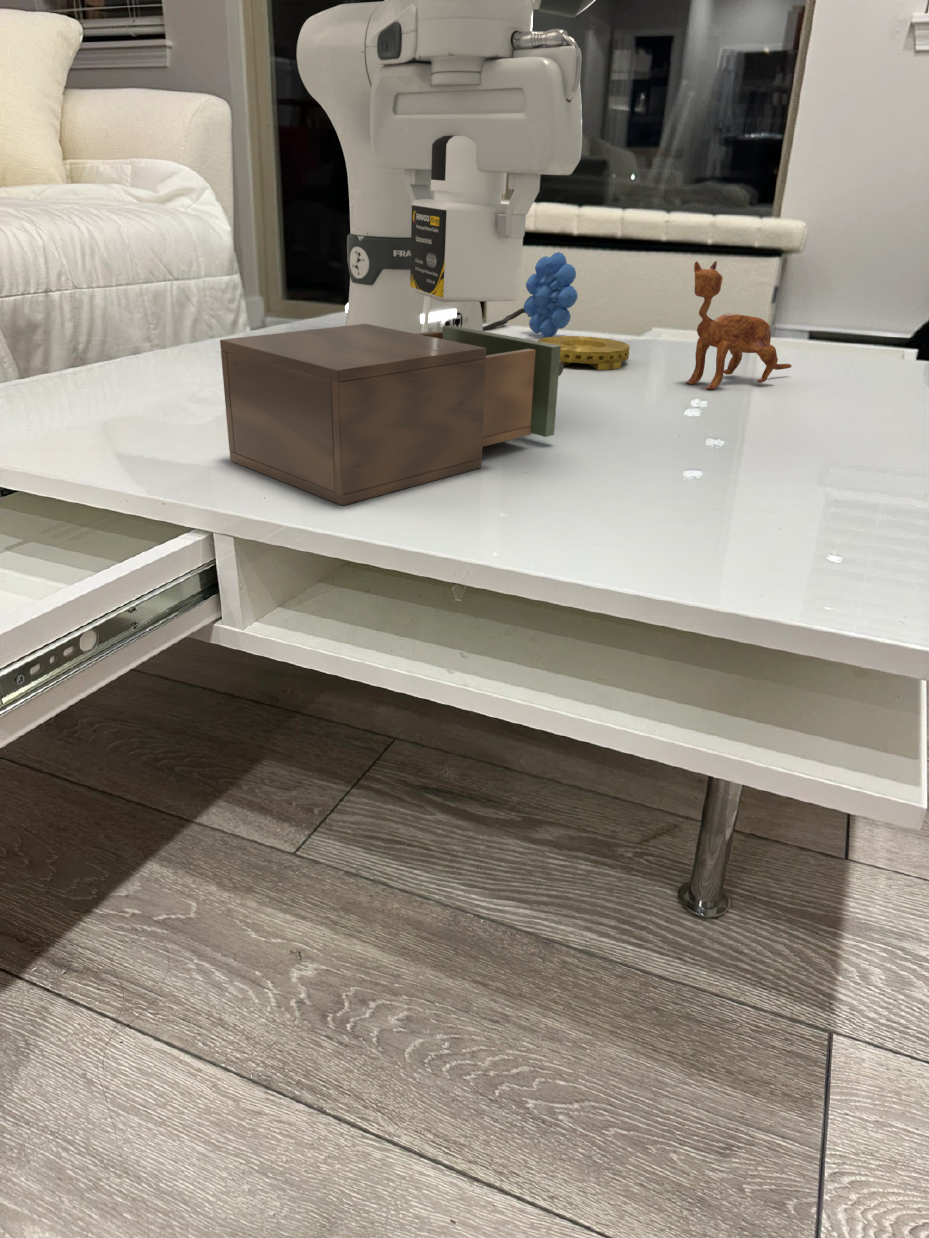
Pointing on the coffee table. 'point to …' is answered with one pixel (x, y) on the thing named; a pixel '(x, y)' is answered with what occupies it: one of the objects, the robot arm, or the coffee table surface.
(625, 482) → the coffee table surface
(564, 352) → the golden round trivet
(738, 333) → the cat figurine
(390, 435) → the cabinet
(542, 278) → the grapes
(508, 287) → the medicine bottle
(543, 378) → the drawer
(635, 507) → the coffee table surface
